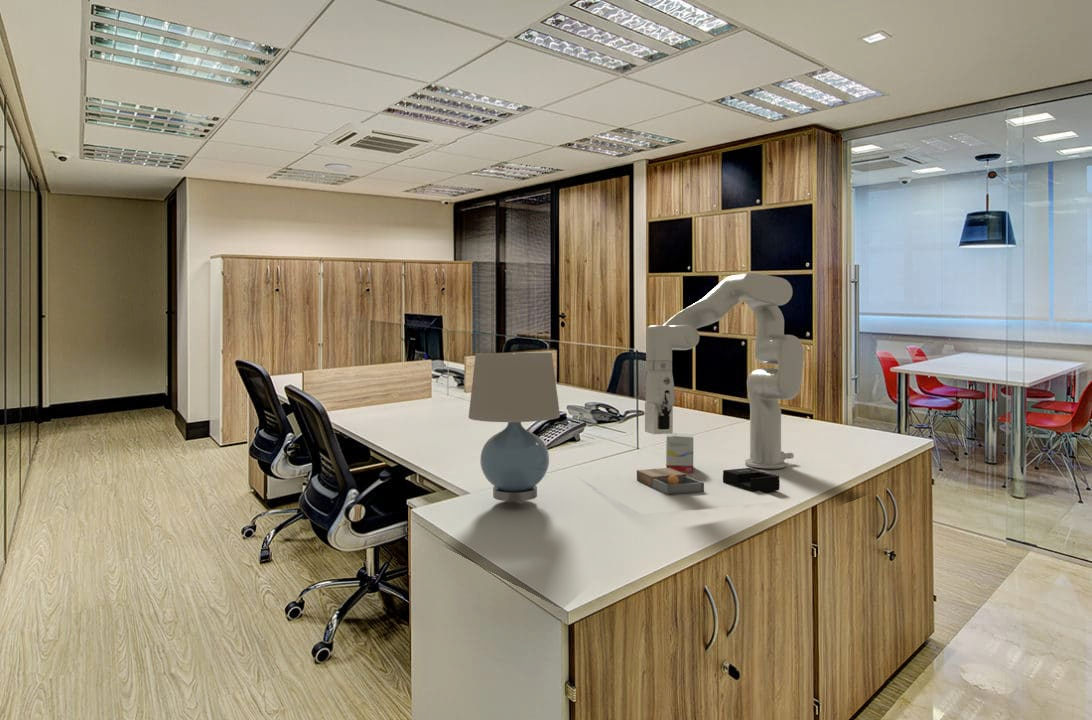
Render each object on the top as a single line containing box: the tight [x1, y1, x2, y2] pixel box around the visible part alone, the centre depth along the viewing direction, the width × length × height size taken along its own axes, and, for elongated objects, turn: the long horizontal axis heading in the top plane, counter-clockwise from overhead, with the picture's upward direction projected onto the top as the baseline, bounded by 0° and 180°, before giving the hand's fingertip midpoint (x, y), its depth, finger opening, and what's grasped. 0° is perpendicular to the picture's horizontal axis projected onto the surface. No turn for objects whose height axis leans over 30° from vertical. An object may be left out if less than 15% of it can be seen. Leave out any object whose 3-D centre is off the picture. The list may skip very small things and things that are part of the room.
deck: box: [636, 467, 687, 488], centre depth 181 cm, size 11×10×3 cm
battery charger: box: [722, 467, 781, 493], centre depth 176 cm, size 13×10×4 cm
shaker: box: [644, 401, 674, 435], centre depth 181 cm, size 6×6×10 cm
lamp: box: [468, 352, 561, 502], centre depth 166 cm, size 25×25×39 cm
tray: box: [650, 475, 705, 496], centre depth 172 cm, size 11×10×2 cm
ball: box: [668, 475, 679, 485], centre depth 174 cm, size 3×3×3 cm
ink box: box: [665, 432, 694, 474], centre depth 197 cm, size 9×9×12 cm
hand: (658, 427), depth 182 cm, fingers closed on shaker, 6 cm apart
